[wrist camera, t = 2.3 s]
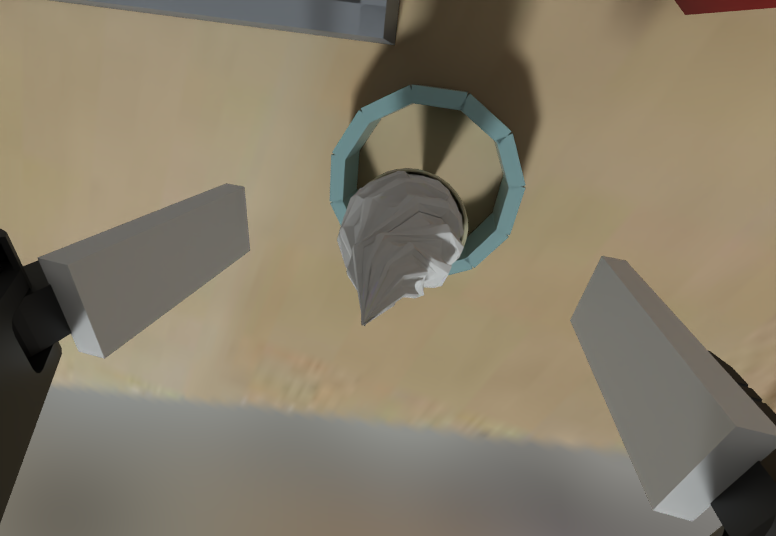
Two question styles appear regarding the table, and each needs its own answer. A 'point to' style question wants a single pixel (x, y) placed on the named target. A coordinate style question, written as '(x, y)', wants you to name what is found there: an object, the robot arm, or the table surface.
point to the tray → (280, 15)
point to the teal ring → (513, 181)
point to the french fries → (722, 5)
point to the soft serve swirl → (401, 237)
